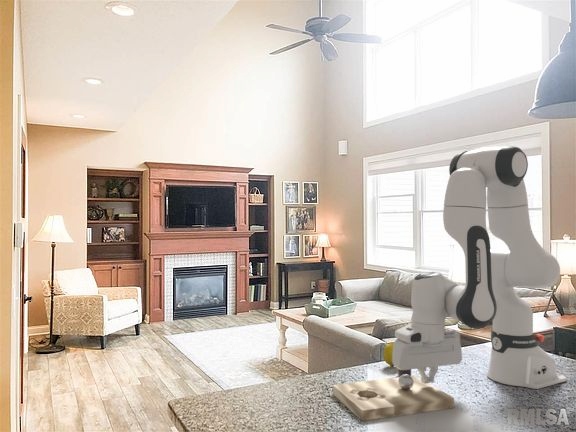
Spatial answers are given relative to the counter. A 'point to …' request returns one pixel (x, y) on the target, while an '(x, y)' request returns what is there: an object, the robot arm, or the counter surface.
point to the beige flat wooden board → (390, 398)
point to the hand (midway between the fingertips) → (427, 382)
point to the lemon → (388, 354)
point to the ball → (405, 381)
